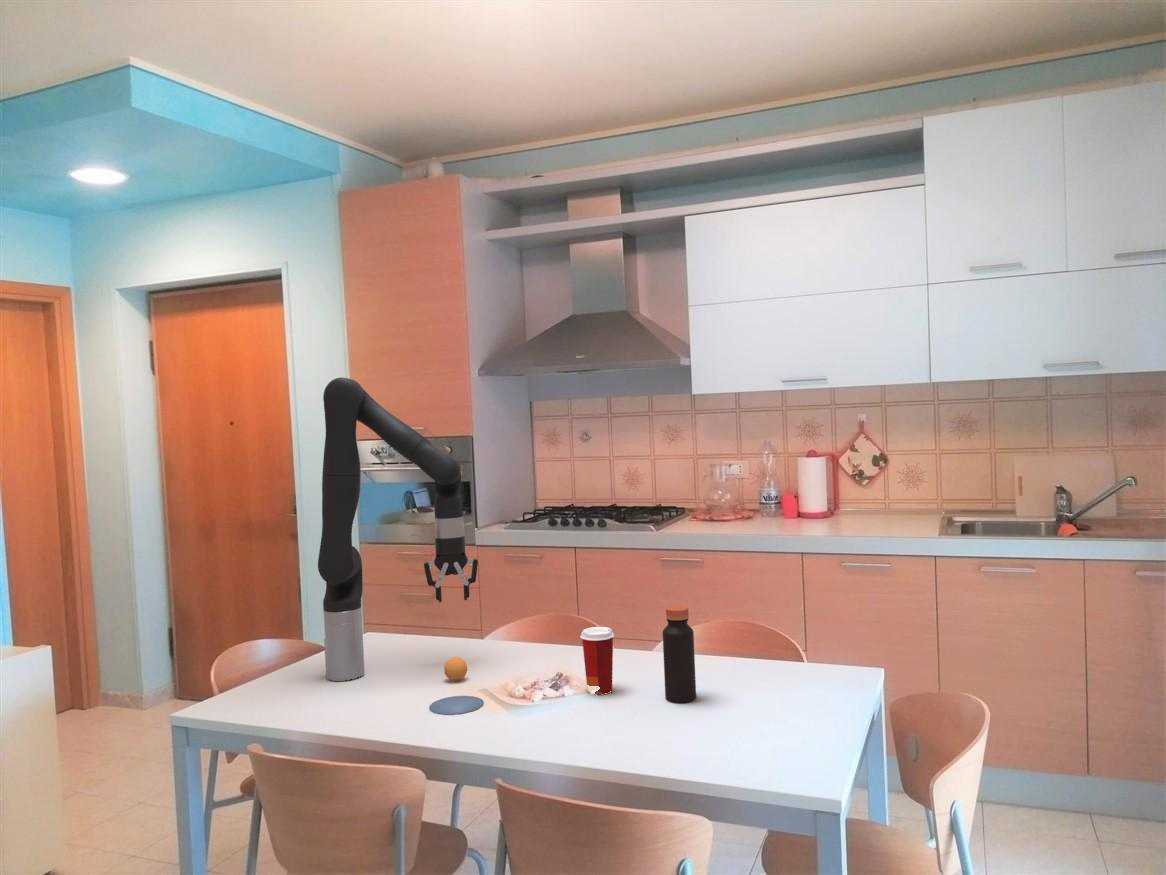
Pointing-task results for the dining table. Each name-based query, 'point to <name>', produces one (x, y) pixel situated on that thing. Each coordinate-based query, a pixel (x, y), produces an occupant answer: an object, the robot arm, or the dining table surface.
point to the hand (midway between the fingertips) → (452, 600)
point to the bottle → (679, 656)
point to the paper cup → (598, 657)
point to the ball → (455, 668)
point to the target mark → (456, 705)
